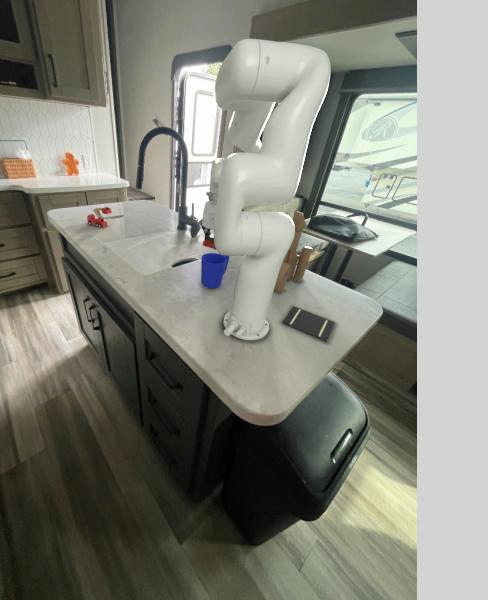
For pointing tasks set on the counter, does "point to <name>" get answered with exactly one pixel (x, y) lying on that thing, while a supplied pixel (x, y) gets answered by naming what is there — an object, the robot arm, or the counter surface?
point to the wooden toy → (294, 257)
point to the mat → (309, 323)
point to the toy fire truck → (100, 219)
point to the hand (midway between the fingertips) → (214, 244)
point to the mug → (213, 269)
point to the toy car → (209, 241)
